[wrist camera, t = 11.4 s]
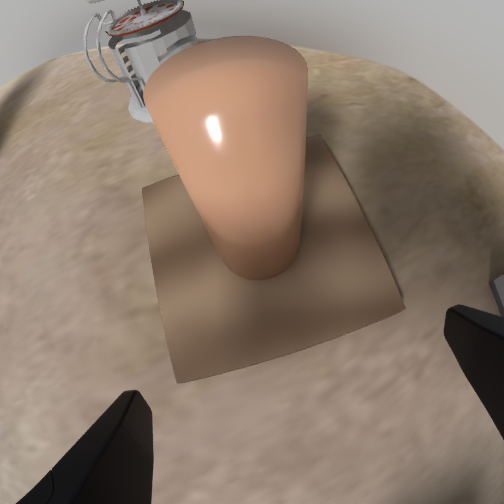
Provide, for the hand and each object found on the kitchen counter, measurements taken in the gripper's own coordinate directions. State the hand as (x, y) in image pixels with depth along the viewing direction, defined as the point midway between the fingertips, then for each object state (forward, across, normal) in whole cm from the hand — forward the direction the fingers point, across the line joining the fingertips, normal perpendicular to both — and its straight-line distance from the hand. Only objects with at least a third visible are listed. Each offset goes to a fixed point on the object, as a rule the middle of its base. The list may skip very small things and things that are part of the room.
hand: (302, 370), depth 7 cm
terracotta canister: (+12, 0, +1) cm, 12 cm away
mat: (+13, 0, +1) cm, 13 cm away
